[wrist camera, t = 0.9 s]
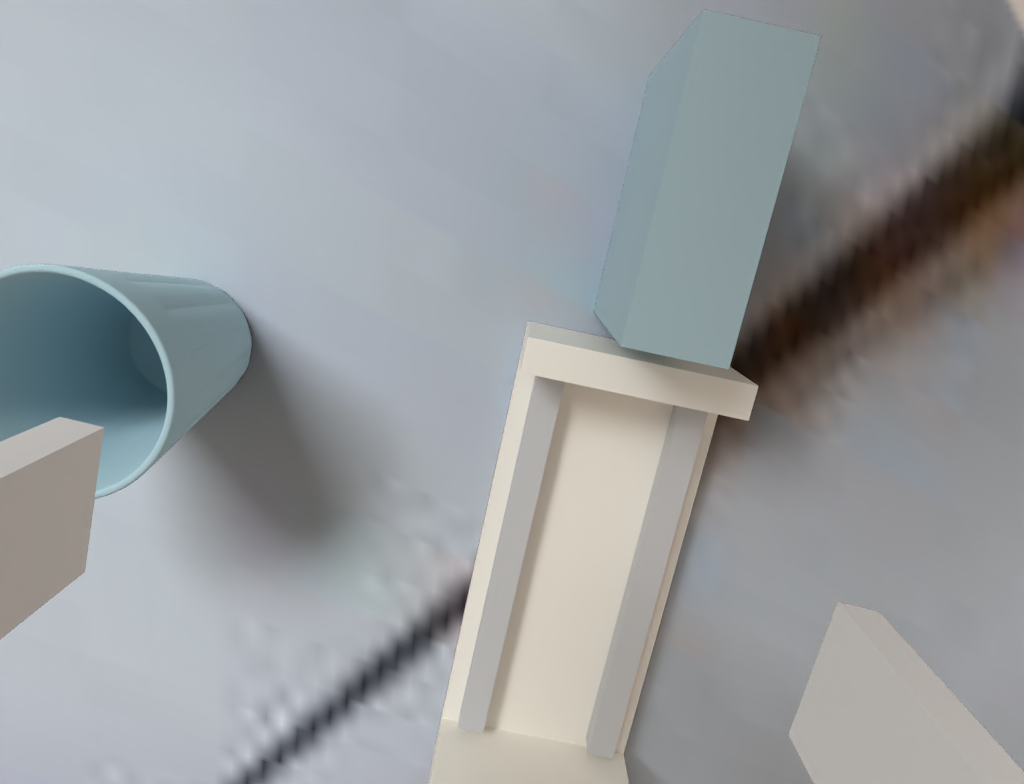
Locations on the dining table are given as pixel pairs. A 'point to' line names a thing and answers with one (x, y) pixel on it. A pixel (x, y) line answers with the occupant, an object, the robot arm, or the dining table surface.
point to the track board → (576, 557)
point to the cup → (116, 358)
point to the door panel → (703, 186)
